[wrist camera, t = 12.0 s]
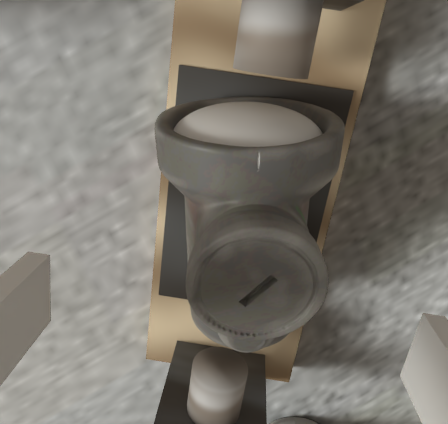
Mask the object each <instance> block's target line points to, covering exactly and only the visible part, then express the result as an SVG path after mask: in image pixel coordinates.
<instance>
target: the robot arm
mask: <svg viewBox="0 0 448 424" xmlns="http://www.w3.org/2000/svg"><path fill="white" fill-rule="evenodd" d="M50 321H51V301H50V255H46V254H40V253H33V252H27V253H26V254H25V255H24V256H23V257H22V258H20V259H19V260H18V261H17V262H16V263H15V264H13V265H12V266H11V267H10V268H9V269H8V270H7V271H5V272H4V273H3V274H2V275H1V276H0V386H1V384H2V383H3V382H4V381H5V379H6V378H7V377H8V375H9V374H10V373H11V371H12V370H13V369H14V368H15V366H16V365H17V364H18V362H19V361H20V360H21V358H22V357H23V356H24V355H25V353H26V352H27V351H28V349H29V348H30V347H31V346H32V344H33V343H34V342H35V340H36V339H37V338H38V336H39V335H40V334H41V333H42V331H43V330H44V329H45V327H46V326H47V325H48V323H49V322H50ZM400 377H401V379H402V381H403V383H404V386H405V388H406V390H407V392H408V394H409V396H410V399H411V401H412V403H413V405H414V407H415V410H416V412H417V414H418V416H419V418H420V420H421V423H422V424H448V320H447V319H446V317H445V316H438V315H432V314H425V313H423V314H422V317H421V320H420V322H419V325H418V328H417V331H416V333H415V336H414V339H413V341H412V344H411V347H410V350H409V352H408V355H407V358H406V360H405V363H404V366H403V369H402V371H401V374H400Z"/></svg>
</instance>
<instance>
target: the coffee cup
mask: <svg viewBox="0 0 448 424" xmlns="http://www.w3.org/2000/svg"><path fill="white" fill-rule="evenodd" d="M269 424H318V423H316V422H314V421H312V420H309V419H306V418H300V417H286V418H281V419H278V420H275V421H273V422H271V423H269Z"/></svg>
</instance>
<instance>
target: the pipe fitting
mask: <svg viewBox="0 0 448 424" xmlns="http://www.w3.org/2000/svg"><path fill="white" fill-rule="evenodd" d="M344 133H345V125H344V123H343V121H342V119H341V118H340V117H339V116H337V115H336V114H335V113H333V112H331V111H330V110H327V109H324V108H322V107H319V106H316V105H313V104H309V103H305V102H300V101H295V100H289V99H282V98H271V97H228V98H215V99H206V100H199V101H193V102H189V103H184V104H180V105H177V106H174V107H171V108H169V109H167V110H165V111H164V112H162V113H161V114H160V115H159V116H158V118H157V120H156V123H155V139H156V149H157V159H158V165H159V168H160V170H161V172H162V174H163V175H164V176H165V177H166V178H167V179H168V180H169V181H170V182H171V183H172V184H173V185H174V186H175V187H176V188H177V189H178V190H179V191H180V192H181V193H182V194H183V195H184V197H185V218H186V239H187V260H188V265H187V274H186V295H187V299H188V302H189V304H190V309H191V316H192V319H193V321H194V323H195V325H196V326H197V328H198V329H199V330H200V331H201V332H202V333H203V334H204V335H205V336H207V337H208V338H209V339H211V340H212V341H214V342H216V343H218V344H220V345H223V346H226V347H230V348H231V349H233V350H236V351H239V352H245V353H249V352H255V351H258V350H261V349H263V348H265V347H268V346H271V345H273V344H276V343H278V342H279V341H281V340H282V339H284V338H285V337H286V336H287V335H288V334H289V333H291V332H293V331H294V330H296V329H298V328H300V327H301V326H303V325H304V324H305V323H307V322H308V321H309V320H310V319H311V318H312V317H313V316H314V315H315V314H316V313H317V311H318V310H319V309H320V307H321V305H322V304H323V302H324V299H325V297H326V294H327V290H328V282H329V278H328V270H327V266H326V263H325V261H324V258H323V256H322V253H321V251H320V248H319V246H318V244H317V243H316V241H315V239H314V238H313V237H312V236H311V234H310V233H309V230H308V227H307V220H308V210H309V201H310V198H311V197H312V196H313V195H315V194H316V193H317V192H318V191H319V190H320V189H322V188H323V187H324V186H325V185H326V184H327V183H329V182H330V181H331V180H332V179H333V177H334V176H335V175H336V173H337V171H338V168H339V164H340V158H341V152H342V145H343V139H344Z"/></svg>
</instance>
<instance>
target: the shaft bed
mask: <svg viewBox="0 0 448 424" xmlns="http://www.w3.org/2000/svg"><path fill="white" fill-rule="evenodd" d="M385 3H386V0H175V9H174V21H173V33H172V46H171V58H170V70H169V83H168V95H167V107H166V110H167V109H169V108H171V107H174V106H177V105H180V104H184V103H189V102H193V101H199V100H206V99H215V98H228V97H271V98H282V99H289V100H295V101H300V102H305V103H309V104H313V105H316V106H319V107H322V108H324V109H327V110H330V111H331V112H333V113H335V114H336V115H337V116H339V117H340V118H341V119H342V121H343V123H344V125H345V133H344V139H343V145H342V152H341V158H340V164H339V168H338V171H337V173H336V175H335V176H334V177H333V179H332V180H331V181H330V182H329V183H327V184H326V185H325V186H324V187H323V188H322V189H320V190H319V191H318V192H317V193H316V194H315V195H313V196H312V197H311V198H310V201H309V210H308V220H307V227H308V230H309V233H310V234H311V236H312V237H313V238H314V239H315V241H316V243H317V244H318V246H319V248H320V251H321V253H322V250H323V247H324V243H325V239H326V235H327V231H328V227H329V223H330V219H331V215H332V211H333V207H334V203H335V199H336V196H337V192H338V188H339V184H340V180H341V176H342V172H343V168H344V164H345V160H346V156H347V152H348V149H349V145H350V141H351V137H352V133H353V129H354V125H355V121H356V117H357V113H358V109H359V105H360V101H361V98H362V94H363V90H364V86H365V82H366V78H367V74H368V70H369V66H370V62H371V58H372V54H373V50H374V47H375V43H376V39H377V35H378V31H379V27H380V23H381V19H382V15H383V11H384V7H385ZM187 265H188V260H187V239H186V218H185V197H184V195H183V194H182V193H181V192H180V191H179V190H178V189H177V188H176V187H175V186H174V185H173V184H172V183H171V182H170V181H169V180H168V179H167V178H166V177H165V176H164V175H163V174H162V172H161V181H160V194H159V206H158V218H157V231H156V243H155V255H154V268H153V280H152V292H151V305H150V317H149V329H148V342H147V354H146V359H150V360H156V361H163V362H169V363H171V364H170V368H169V371H168V375H167V379H166V382H165V386H164V389H163V393H162V396H161V400H160V404H159V407H158V411H157V414H156V418H155V422H154V424H267V423H266V379H272V380H278V381H284V382H289V380H290V376H291V372H292V368H293V364H294V360H295V356H296V352H297V348H298V345H299V341H300V337H301V333H302V329H303V326H301V327H300V328H298V329H296V330H294V331H293V332H291V333H289V334H288V335H287V336H286V337H285V338H284V339H282V340H281V341H279V342H278V343H276V344H273V345H271V346H268V347H265V348H263V349H261V350H258V351H255V352H249V353H245V352H239V351H236V350H233V349H231V348H230V347H226V346H223V345H220V344H218V343H216V342H214V341H212V340H211V339H209V338H208V337H207V336H205V335H204V334H203V333H202V332H201V331H200V330H199V329H198V328H197V326H196V325H195V323H194V321H193V319H192V316H191V309H190V304H189V302H188V299H187V295H186V274H187Z"/></svg>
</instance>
